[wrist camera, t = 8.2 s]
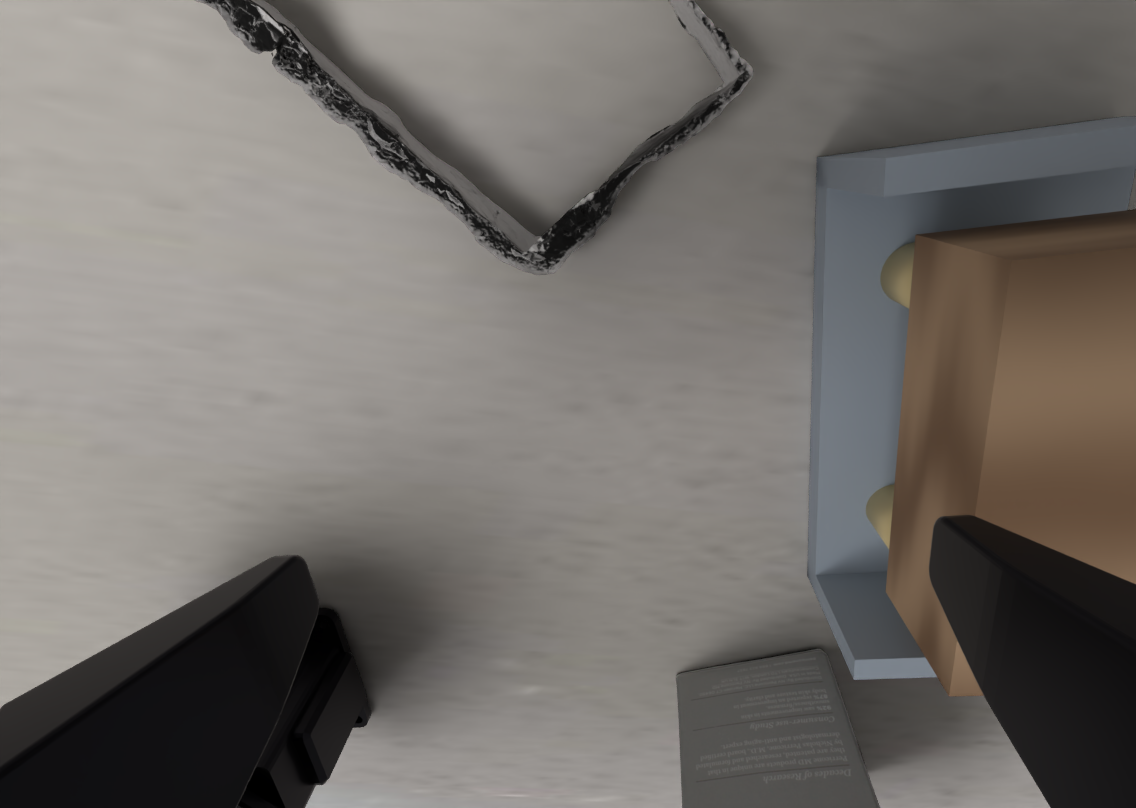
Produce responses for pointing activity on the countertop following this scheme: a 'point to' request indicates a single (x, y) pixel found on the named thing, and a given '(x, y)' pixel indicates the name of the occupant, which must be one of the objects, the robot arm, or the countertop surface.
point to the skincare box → (769, 737)
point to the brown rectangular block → (1016, 404)
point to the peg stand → (879, 333)
